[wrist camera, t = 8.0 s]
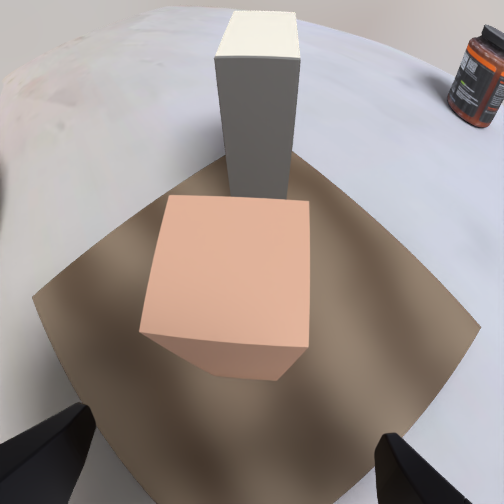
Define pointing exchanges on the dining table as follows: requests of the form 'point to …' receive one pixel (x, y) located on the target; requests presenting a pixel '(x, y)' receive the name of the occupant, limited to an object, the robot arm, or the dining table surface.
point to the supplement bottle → (480, 79)
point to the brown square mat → (260, 391)
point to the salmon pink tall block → (231, 284)
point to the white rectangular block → (258, 100)
